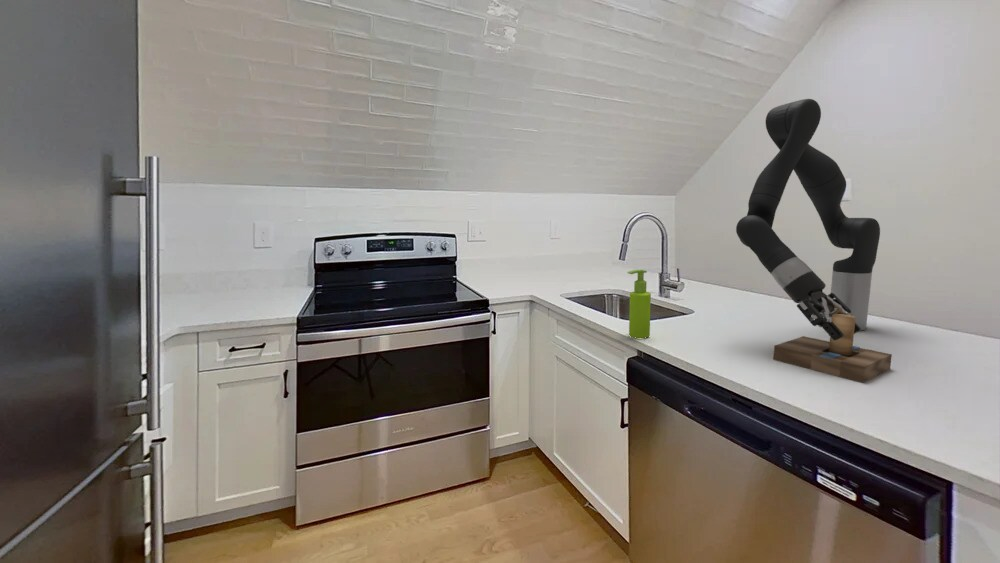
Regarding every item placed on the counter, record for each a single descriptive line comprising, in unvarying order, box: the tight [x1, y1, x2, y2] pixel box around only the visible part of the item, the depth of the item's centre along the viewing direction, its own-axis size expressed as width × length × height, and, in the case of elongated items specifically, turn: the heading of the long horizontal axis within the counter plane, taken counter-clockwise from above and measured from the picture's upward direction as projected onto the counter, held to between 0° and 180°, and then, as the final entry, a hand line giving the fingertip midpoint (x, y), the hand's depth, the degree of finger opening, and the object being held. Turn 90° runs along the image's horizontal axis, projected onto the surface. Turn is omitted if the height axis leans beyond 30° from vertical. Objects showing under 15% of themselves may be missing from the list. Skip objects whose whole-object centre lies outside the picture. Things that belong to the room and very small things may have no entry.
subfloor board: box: [772, 335, 892, 384], centre depth 101 cm, size 14×18×4 cm
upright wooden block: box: [829, 314, 856, 358], centre depth 99 cm, size 4×4×12 cm
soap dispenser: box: [627, 269, 652, 339], centre depth 127 cm, size 6×7×20 cm
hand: (848, 335), depth 98 cm, fingers open, 8 cm apart
